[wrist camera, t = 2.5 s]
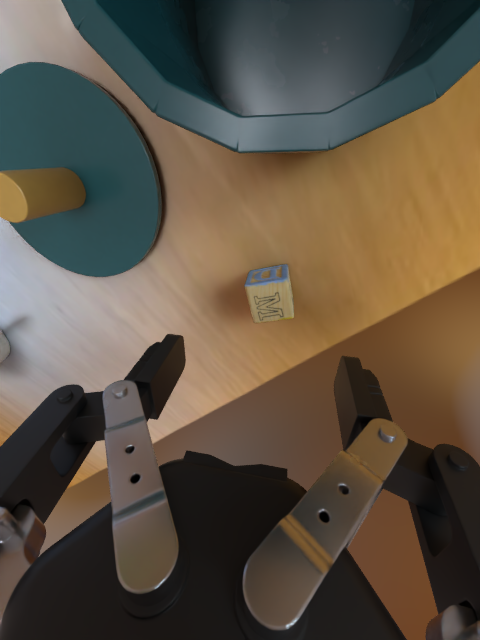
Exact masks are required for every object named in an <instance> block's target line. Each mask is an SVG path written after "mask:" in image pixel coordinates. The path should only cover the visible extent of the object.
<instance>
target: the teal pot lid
mask: <svg viewBox="0 0 480 640" xmlns="http://www.w3.org/2000/svg"><path fill="white" fill-rule="evenodd" d="M161 214H162V198H161V188H160V183H159V178H158V173H157V170H156V167H155V164H154V161H153V158H152V155H151V153H150V151H149V149H148V146H147V144H146V142H145V140H144V138H143V137H142V135H141V133H140V131H139V130H138V128H137V126H136V125H135V124H134V122H133V121H132V119H131V118H130V116H129V115H128V114H127V113H126V111H125V110H124V109H123V108H122V107H121V106H120V105H119V103H118V102H117V101H116V100H115V99H114V98H113V97H112V96H110V95H109V94H108V93H107V92H106V91H105V90H104V89H102V88H101V87H100V86H98V85H97V84H96V83H94V82H93V81H92V80H90V79H88V78H86V77H84V76H83V75H81V74H79V73H77V72H74V71H72V70H69V69H66V68H64V67H61V66H58V65H54V64H49V63H44V62H28V63H23V64H18V65H16V66H13V67H11V68H9V69H7V70H5V71H4V72H3V73H1V74H0V217H1V218H3V219H5V220H7V221H9V222H10V224H11V225H12V226H13V227H14V228H15V230H16V231H17V232H18V233H19V234H20V235H21V237H22V238H23V239H24V240H25V241H26V242H27V243H28V244H29V245H31V246H32V247H33V248H34V249H35V250H36V251H37V252H39V253H40V254H41V255H43V256H44V257H46V258H47V259H48V260H50V261H52V262H53V263H55V264H57V265H59V266H61V267H63V268H65V269H67V270H69V271H72V272H75V273H78V274H82V275H86V276H94V277H107V276H113V275H117V274H120V273H123V272H125V271H127V270H129V269H131V268H132V267H134V266H135V265H136V264H137V263H139V262H140V261H141V260H142V259H143V258H144V257H145V256H146V255H147V254H148V252H149V251H150V249H151V248H152V246H153V244H154V242H155V239H156V237H157V234H158V231H159V227H160V221H161Z"/></svg>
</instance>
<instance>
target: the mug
mask: <svg viewBox="0 0 480 640" xmlns="http://www.w3.org/2000/svg"><path fill="white" fill-rule="evenodd" d="M9 354H10V345H9V342H8V340H7V338H6V337H5V335H4V334H3V333H2V330H1V329H0V363H1V362H2V361H3V360H5V359H6V358H7V357H8V355H9Z"/></svg>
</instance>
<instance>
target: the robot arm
mask: <svg viewBox="0 0 480 640" xmlns="http://www.w3.org/2000/svg"><path fill="white" fill-rule="evenodd" d="M185 361H186V359H185V348H184V339H183V336H181V335H173V334H167V335H166V337H165V338H164V339H163V341H162V342H161V343H160V342H156V343H155V344H153V345H152V346H150V347H149V348H148V349H147V350H146V352H145V353H144V355H142V357H141V358H140V359H139V361H138V362H137V363H136V365H135V366H134V367H133V368H132V370H131V371H130V372H129V374H128V375H127V376H126V378H125V379H124V380H120V381H117V382H114V383H112V384H110V385H109V386H108V387H107V388H106V389H105V390H104V391H101V392H92V393H84V390H83V388H82V387H81V386H79V385H66V386H63V387H60V388H58V389H57V390H55V391H53V392H52V393H51V394H50V395H49V396H48V397H47V398H46V399H45V400H44V401H43V402H42V403H41V404H40V406H39V407H38V408H37V409H36V410H35V411H34V412H33V413H32V414H31V415H30V416H29V417H28V418H27V419H26V420H25V421H24V422H23V423H22V425H21V426H20V427H19V428H18V429H17V430H16V431H15V432H14V433H13V434H12V435H11V436H10V437H9V438H8V439H7V440H6V441H5V442H4V444H3V445H2V446H1V447H0V640H407V639H406V638H405V636H404V635H403V633H402V632H401V630H400V629H399V627H398V626H397V624H396V623H395V621H394V620H393V618H392V617H391V615H390V613H389V612H388V610H387V609H386V607H385V606H384V605H383V603H382V602H381V600H380V598H379V597H378V595H377V594H376V592H375V591H374V589H373V588H372V586H371V585H370V583H369V582H368V580H367V579H366V577H365V576H364V574H363V572H362V571H361V569H360V568H359V567H358V565H357V564H356V562H355V561H354V559H353V557H352V556H351V554H350V553H349V551H348V550H347V548H348V546H349V544H350V543H351V541H352V540H353V538H354V536H355V534H356V533H357V531H358V529H359V528H360V526H361V524H362V522H363V521H364V519H365V517H366V516H367V514H368V513H369V511H370V509H371V508H372V506H373V504H374V503H375V501H376V499H377V498H378V496H379V494H380V493H381V491H382V489H386V490H388V491H390V492H392V493H394V494H396V495H398V496H400V497H402V498H404V499H406V500H408V502H409V505H410V509H411V513H412V517H413V521H414V524H415V528H416V531H417V536H418V539H419V543H420V546H421V550H422V554H423V558H424V562H425V565H426V569H427V573H428V576H429V580H430V583H431V588H432V591H433V595H434V599H435V603H436V606H437V610H438V615H437V616H436V617H434V618H433V619H432V620H431V621H430V622H429V623H428V626H427V629H426V640H480V467H479V465H478V463H477V462H476V461H475V460H474V459H473V458H472V457H471V456H470V455H469V454H468V453H466V452H465V451H463V450H462V449H460V448H458V447H455V446H453V445H449V444H439V445H437V446H436V447H435V448H434V450H433V449H431V448H428V447H426V446H423V445H421V444H418V443H416V442H414V441H412V440H410V439H408V438H407V436H406V434H405V433H404V431H403V430H402V429H401V428H400V427H399V426H398V425H397V424H395V423H393V421H392V418H391V415H390V413H389V410H388V407H387V404H386V402H385V399H384V396H383V393H382V391H381V389H380V385H379V382H378V380H377V378H376V377H375V375H374V374H373V373H372V372H371V371H370V370H366V369H362V366H361V362H360V360H359V358H355V357H347V356H342V357H341V359H340V363H339V366H338V370H337V374H336V377H335V381H334V394H335V401H336V406H337V413H338V419H339V425H340V431H341V438H342V444H343V450H342V451H341V452H340V453H339V454H338V455H337V456H336V458H335V459H334V460H333V461H332V463H331V464H330V465H329V466H328V467H327V469H326V470H325V471H324V472H323V473H322V475H321V476H320V477H319V478H318V479H317V481H316V482H315V483H314V484H313V485H312V487H311V488H310V489H309V490H308V491H306V490H305V489H304V488H303V487H302V486H300V485H299V484H298V483H296V482H294V481H293V480H291V479H289V478H287V469H285V468H279V467H274V466H268V465H263V464H258V465H244V466H233V465H231V464H229V463H226V462H224V461H222V460H220V459H218V458H216V457H214V456H212V455H208V454H202V453H197V452H192V451H186V453H185V456H184V459H177V460H173V461H170V462H167V463H165V464H162V465H161V466H159V467H158V463H157V459H156V456H155V452H154V448H153V444H152V441H151V437H150V433H149V429H148V426H147V421H148V419H149V418H150V419H156V420H157V419H158V418H159V416H160V414H161V412H162V410H163V408H164V406H165V404H166V402H167V400H168V399H169V397H170V395H171V393H172V391H173V389H174V387H175V385H176V383H177V381H178V380H179V378H180V376H181V374H182V372H183V370H184V367H185ZM101 440H105V446H106V456H107V465H108V474H109V484H110V494H111V502H110V503H109V504H107V505H106V506H105V507H103V508H102V509H101V510H99V511H98V512H96V513H95V514H94V515H92V516H91V517H90V518H88V519H87V520H86V521H84V522H83V523H82V524H80V525H79V526H78V527H76V528H75V529H74V530H72V531H71V532H70V533H68V534H67V535H66V536H64V537H63V538H62V539H60V540H59V541H58V542H56V543H55V544H54V545H52V546H51V547H50V548H48V549H47V550H46V551H45V552H44V553H42V554H41V555H40V556H39V554H40V549H41V547H42V545H43V543H44V540H45V537H46V529H45V526H44V523H45V522H46V520H47V518H48V517H49V515H50V514H51V512H52V510H53V509H54V507H55V505H56V504H57V502H58V501H59V499H60V498H61V496H62V495H63V493H64V491H65V490H66V488H67V487H68V485H69V483H70V482H71V480H72V479H73V477H74V476H75V474H76V472H77V471H78V469H79V468H80V466H81V464H82V463H83V461H84V460H85V458H86V456H87V455H88V453H89V452H90V450H91V449H92V447H93V445H94V444H95V442H96V441H101ZM38 556H39V557H38Z"/></svg>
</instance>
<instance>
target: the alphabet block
mask: <svg viewBox="0 0 480 640" xmlns="http://www.w3.org/2000/svg"><path fill="white" fill-rule="evenodd" d="M244 287H245V290H246V294H247V298H248V302H249V306H250V310H251V314H252V318H253V322H254V323H262V322H269V321H276V320H284V319H291V318H294V300H293V294H292V288H291V282H290V276H289V270H288V265H287V264H284V265H278V266H273V267H267V268H262V269H257V270H251V271H250V272H249V274H248V277H247V280H246V283H245V286H244Z"/></svg>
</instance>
